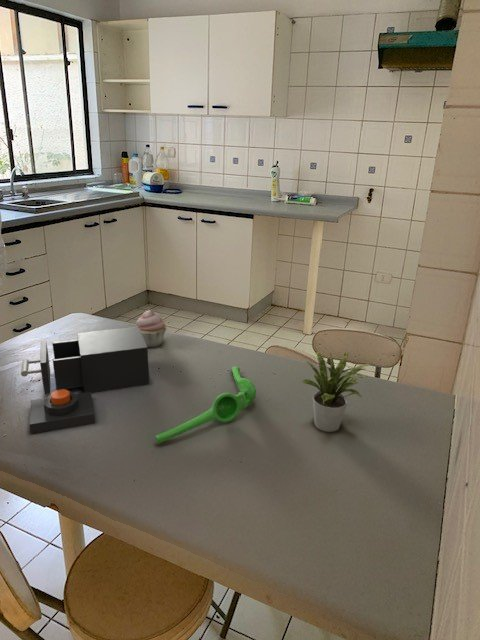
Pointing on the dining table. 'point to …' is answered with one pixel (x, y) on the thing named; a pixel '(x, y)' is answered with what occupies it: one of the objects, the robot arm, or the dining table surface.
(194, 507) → the dining table surface
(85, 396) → the panel
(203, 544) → the dining table surface
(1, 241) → the robot arm
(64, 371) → the basket drawer
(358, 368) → the house plant
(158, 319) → the cupcake
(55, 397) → the button
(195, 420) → the lime squeezer
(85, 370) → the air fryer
